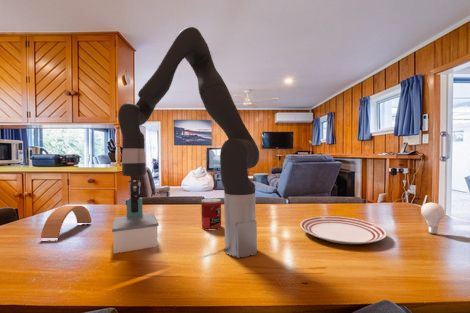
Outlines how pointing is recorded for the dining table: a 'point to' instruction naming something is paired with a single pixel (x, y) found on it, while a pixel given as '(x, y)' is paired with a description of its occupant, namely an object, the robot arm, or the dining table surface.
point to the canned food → (211, 213)
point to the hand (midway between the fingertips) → (134, 211)
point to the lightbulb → (432, 216)
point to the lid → (134, 219)
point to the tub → (134, 239)
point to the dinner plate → (343, 230)
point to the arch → (58, 217)
